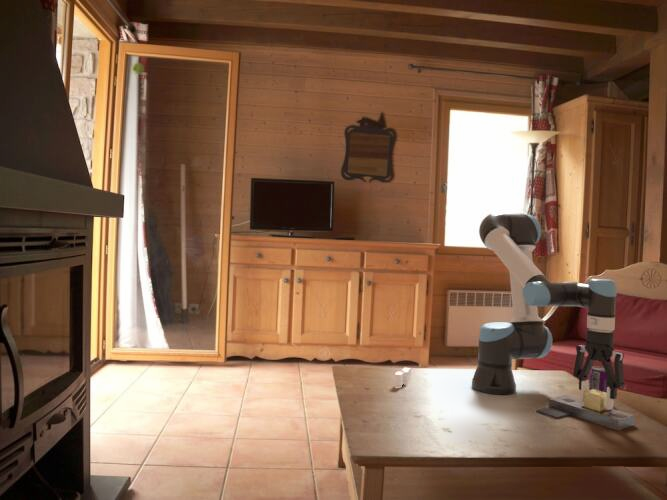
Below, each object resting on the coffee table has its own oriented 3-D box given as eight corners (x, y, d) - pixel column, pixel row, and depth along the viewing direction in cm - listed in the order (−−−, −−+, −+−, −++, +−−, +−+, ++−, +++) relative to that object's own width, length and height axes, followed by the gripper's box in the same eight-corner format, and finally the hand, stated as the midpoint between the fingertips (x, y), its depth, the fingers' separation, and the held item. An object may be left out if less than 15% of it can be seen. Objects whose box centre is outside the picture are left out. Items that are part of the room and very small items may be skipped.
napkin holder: (406, 379, 197) (406, 364, 197) (427, 387, 187) (427, 371, 187) (374, 384, 189) (375, 368, 189) (394, 392, 179) (394, 376, 179)
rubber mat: (536, 411, 163) (536, 410, 163) (550, 408, 167) (550, 406, 167) (557, 418, 157) (557, 416, 157) (570, 415, 161) (570, 413, 161)
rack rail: (548, 408, 167) (549, 398, 167) (565, 404, 172) (565, 394, 172) (617, 430, 149) (618, 419, 149) (634, 425, 154) (634, 414, 154)
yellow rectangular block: (583, 417, 159) (584, 391, 159) (592, 414, 162) (593, 389, 162) (599, 422, 155) (600, 395, 155) (608, 419, 158) (609, 393, 158)
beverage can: (615, 409, 169) (617, 372, 168) (591, 406, 170) (593, 370, 170) (608, 402, 176) (610, 367, 175) (585, 400, 177) (587, 365, 177)
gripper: (562, 325, 164) (559, 397, 165) (627, 336, 148) (623, 417, 148) (576, 324, 168) (572, 394, 169) (641, 335, 152) (637, 413, 152)
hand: (596, 405), depth 159 cm, fingers open, 7 cm apart
